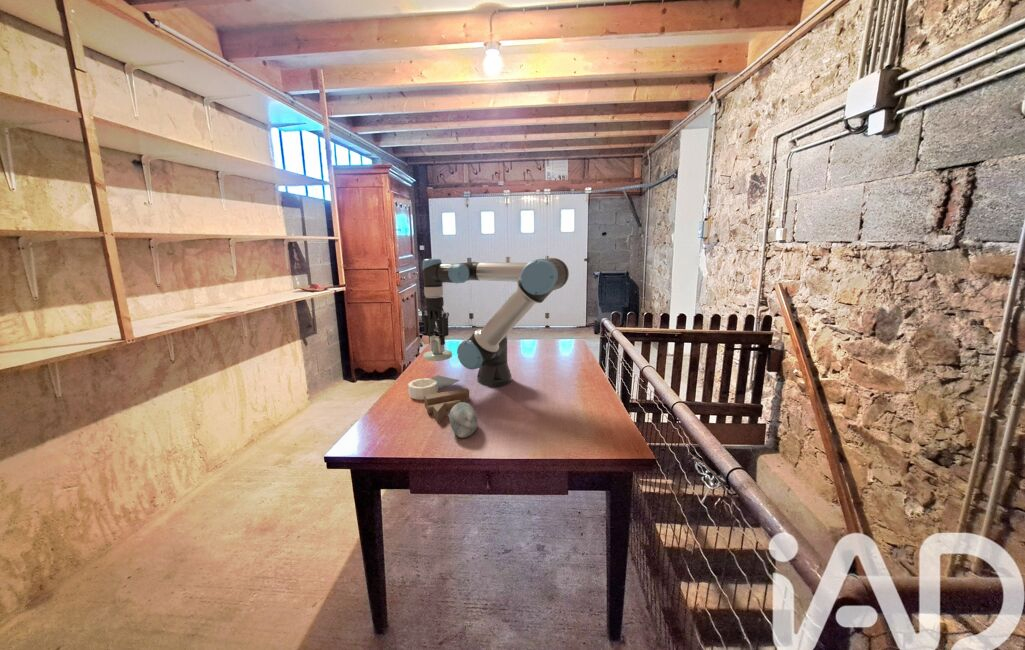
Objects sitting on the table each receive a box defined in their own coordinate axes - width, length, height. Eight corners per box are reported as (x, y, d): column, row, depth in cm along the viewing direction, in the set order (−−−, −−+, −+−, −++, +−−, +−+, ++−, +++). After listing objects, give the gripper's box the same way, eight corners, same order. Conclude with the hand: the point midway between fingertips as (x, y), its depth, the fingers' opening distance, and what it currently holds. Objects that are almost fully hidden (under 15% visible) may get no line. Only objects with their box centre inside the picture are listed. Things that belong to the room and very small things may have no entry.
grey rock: (444, 412, 130) (456, 390, 126) (470, 421, 133) (483, 400, 129) (441, 440, 118) (455, 417, 114) (469, 450, 120) (484, 427, 117)
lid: (457, 355, 166) (457, 339, 164) (438, 362, 156) (437, 345, 155) (437, 351, 172) (436, 336, 171) (417, 358, 162) (416, 342, 161)
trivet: (459, 381, 169) (459, 380, 169) (439, 390, 158) (439, 389, 158) (437, 376, 176) (437, 375, 175) (416, 385, 165) (416, 384, 165)
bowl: (443, 393, 156) (442, 381, 155) (423, 402, 146) (422, 390, 145) (423, 388, 161) (422, 376, 160) (403, 396, 152) (402, 384, 151)
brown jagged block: (421, 393, 142) (467, 384, 150) (422, 407, 143) (467, 398, 151) (434, 409, 127) (484, 399, 135) (434, 425, 129) (484, 414, 137)
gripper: (455, 296, 158) (458, 351, 162) (425, 294, 167) (429, 347, 171) (443, 298, 151) (446, 356, 156) (412, 296, 160) (416, 351, 165)
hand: (437, 351), depth 164 cm, fingers closed on lid, 4 cm apart
